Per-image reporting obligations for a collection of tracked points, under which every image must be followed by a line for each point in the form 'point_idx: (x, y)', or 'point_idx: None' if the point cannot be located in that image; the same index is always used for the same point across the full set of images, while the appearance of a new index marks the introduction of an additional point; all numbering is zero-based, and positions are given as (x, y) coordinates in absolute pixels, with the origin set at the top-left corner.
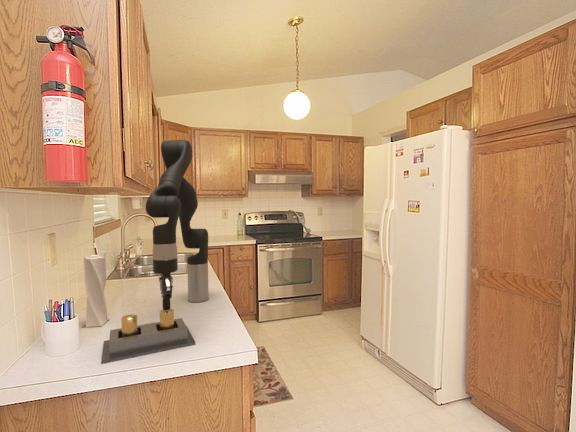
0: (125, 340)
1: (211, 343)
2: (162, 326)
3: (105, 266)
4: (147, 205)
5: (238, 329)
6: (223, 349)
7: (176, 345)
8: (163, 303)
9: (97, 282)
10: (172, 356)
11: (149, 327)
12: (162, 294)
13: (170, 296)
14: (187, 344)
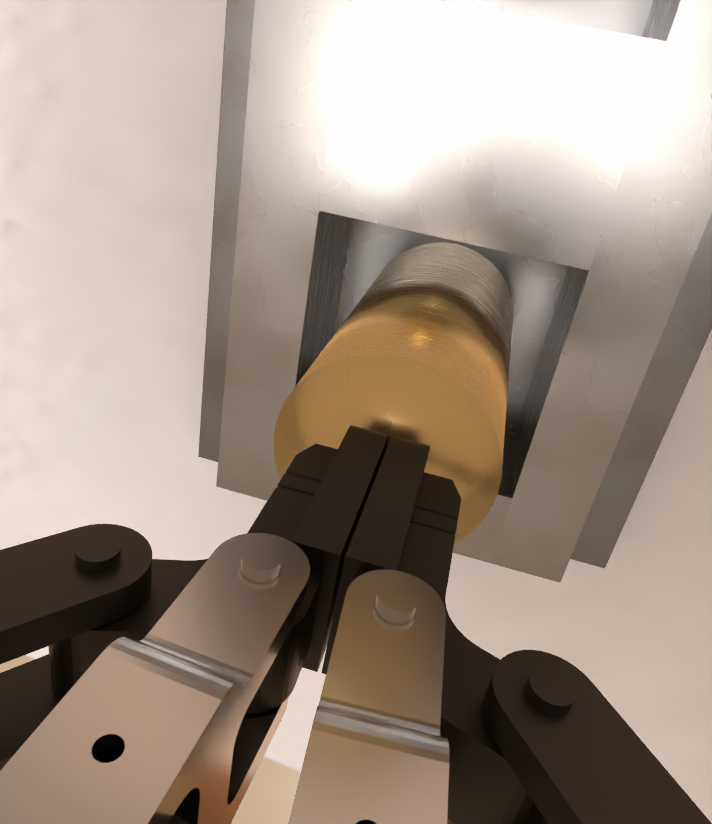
0: None
1: (160, 529)
2: (365, 299)
3: None
4: None
5: (281, 748)
6: (34, 531)
7: (213, 314)
8: (317, 492)
9: None
10: (84, 219)
11: (535, 161)
12: (258, 627)
13: (40, 665)
14: (207, 395)
